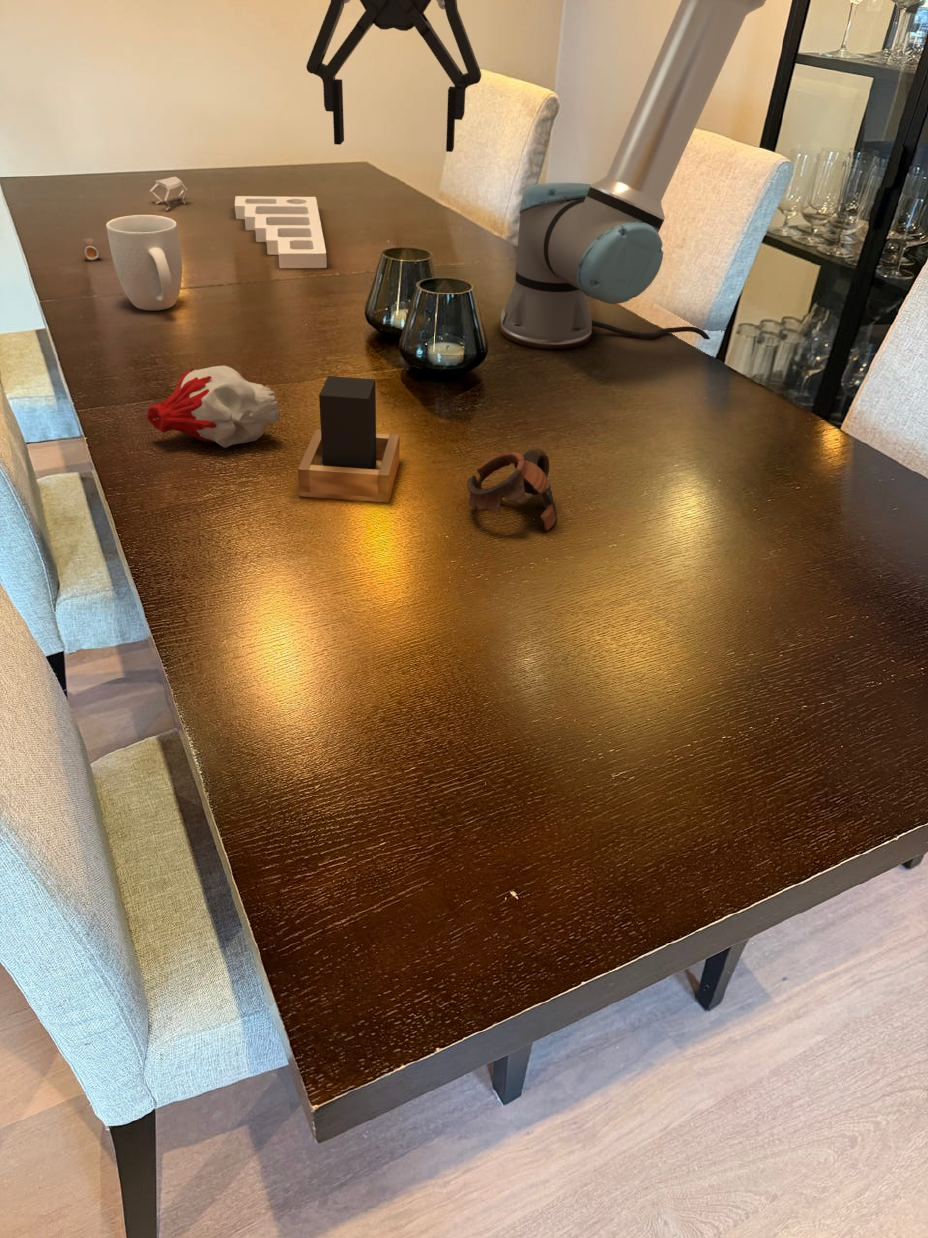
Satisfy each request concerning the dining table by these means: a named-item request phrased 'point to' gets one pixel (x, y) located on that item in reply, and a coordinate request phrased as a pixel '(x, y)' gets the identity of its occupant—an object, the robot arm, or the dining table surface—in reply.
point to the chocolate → (91, 251)
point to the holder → (286, 228)
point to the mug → (147, 259)
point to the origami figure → (169, 188)
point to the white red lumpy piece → (216, 407)
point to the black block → (348, 422)
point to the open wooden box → (350, 473)
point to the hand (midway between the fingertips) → (394, 146)
